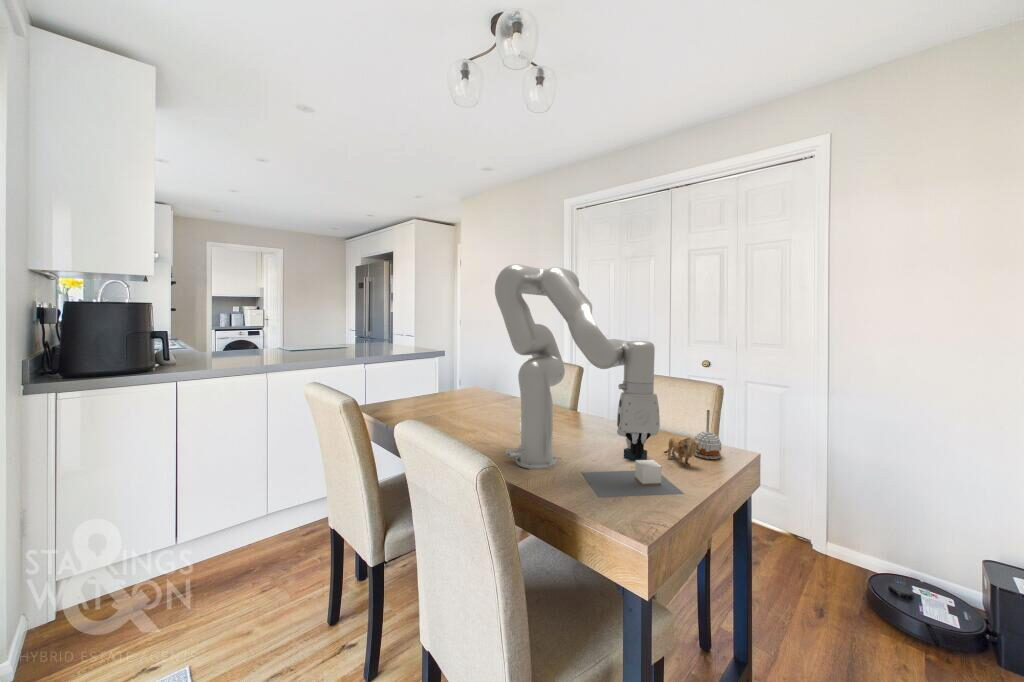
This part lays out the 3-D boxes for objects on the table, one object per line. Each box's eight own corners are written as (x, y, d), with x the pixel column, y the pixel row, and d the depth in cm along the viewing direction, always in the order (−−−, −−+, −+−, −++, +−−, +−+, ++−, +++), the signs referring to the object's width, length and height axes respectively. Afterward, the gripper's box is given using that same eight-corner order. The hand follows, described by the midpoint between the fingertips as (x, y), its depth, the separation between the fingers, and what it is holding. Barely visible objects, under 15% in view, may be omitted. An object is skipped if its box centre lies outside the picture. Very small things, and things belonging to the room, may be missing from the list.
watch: (650, 458, 130) (651, 424, 129) (636, 465, 124) (637, 428, 123) (633, 454, 134) (634, 420, 133) (620, 460, 128) (621, 425, 127)
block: (661, 466, 108) (661, 485, 108) (653, 459, 113) (652, 477, 113) (643, 467, 108) (642, 485, 108) (635, 460, 112) (634, 478, 113)
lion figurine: (703, 469, 121) (704, 439, 120) (687, 471, 119) (688, 440, 119) (670, 453, 135) (671, 426, 134) (656, 454, 133) (657, 427, 133)
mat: (598, 498, 101) (598, 497, 101) (580, 473, 117) (580, 472, 117) (684, 495, 103) (684, 493, 103) (655, 471, 119) (655, 469, 119)
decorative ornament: (710, 452, 137) (712, 407, 136) (725, 460, 129) (727, 412, 128) (688, 452, 136) (690, 407, 135) (702, 461, 128) (703, 413, 127)
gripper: (615, 391, 104) (614, 463, 105) (672, 390, 106) (670, 461, 107) (605, 386, 112) (604, 453, 113) (659, 385, 113) (657, 451, 114)
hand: (636, 457), depth 110 cm, fingers closed
